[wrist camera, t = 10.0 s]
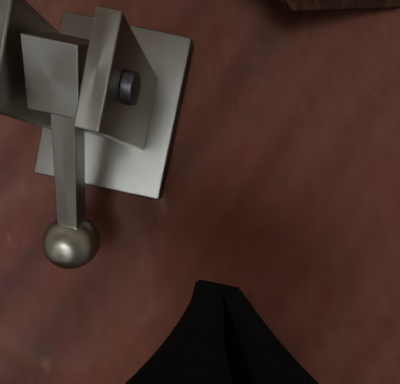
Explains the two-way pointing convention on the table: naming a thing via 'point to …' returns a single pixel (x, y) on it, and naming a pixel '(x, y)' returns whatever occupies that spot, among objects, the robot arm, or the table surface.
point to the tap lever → (62, 141)
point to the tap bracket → (106, 95)
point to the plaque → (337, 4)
